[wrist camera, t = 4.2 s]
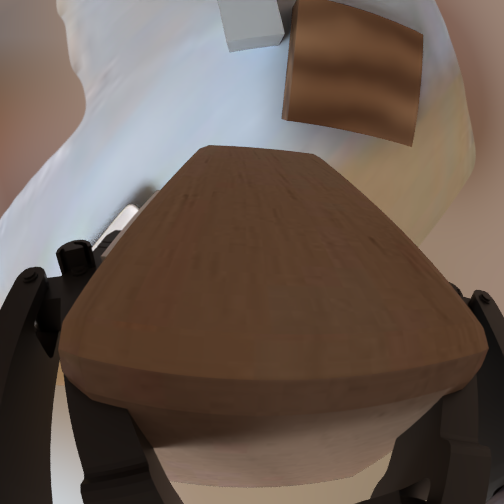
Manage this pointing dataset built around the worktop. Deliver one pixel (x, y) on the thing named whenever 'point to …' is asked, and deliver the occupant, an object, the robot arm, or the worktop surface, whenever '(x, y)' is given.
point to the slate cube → (251, 23)
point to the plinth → (352, 71)
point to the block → (268, 324)
